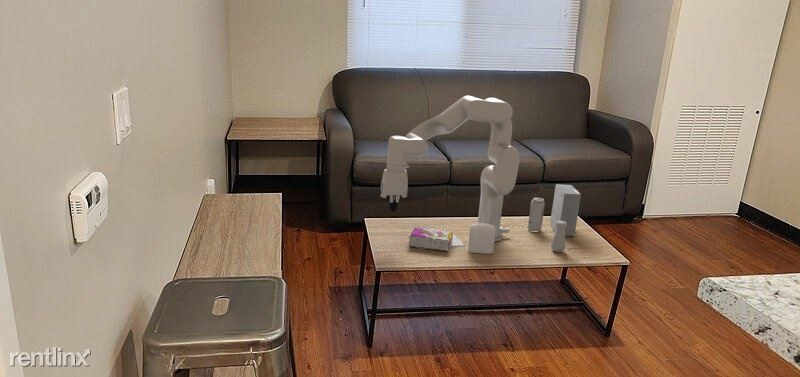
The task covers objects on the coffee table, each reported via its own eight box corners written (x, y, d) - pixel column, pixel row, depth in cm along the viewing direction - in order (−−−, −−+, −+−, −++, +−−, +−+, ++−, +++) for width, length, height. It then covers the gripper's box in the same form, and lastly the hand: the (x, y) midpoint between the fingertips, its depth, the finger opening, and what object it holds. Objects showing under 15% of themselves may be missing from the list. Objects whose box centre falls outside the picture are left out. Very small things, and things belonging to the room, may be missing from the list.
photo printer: (468, 253, 228) (471, 224, 224) (467, 249, 232) (470, 220, 228) (493, 255, 228) (497, 226, 224) (492, 250, 232) (495, 222, 228)
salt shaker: (547, 249, 237) (551, 219, 233) (558, 247, 239) (562, 218, 235) (556, 254, 232) (560, 224, 228) (567, 252, 234) (572, 223, 230)
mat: (451, 232, 249) (451, 231, 249) (464, 245, 235) (464, 245, 235) (408, 234, 243) (408, 234, 243) (418, 248, 229) (418, 248, 229)
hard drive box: (574, 237, 252) (581, 194, 246) (557, 236, 252) (564, 193, 246) (565, 225, 266) (571, 184, 261) (549, 224, 266) (555, 183, 260)
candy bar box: (414, 225, 239) (453, 231, 236) (413, 236, 241) (452, 242, 238) (409, 235, 229) (450, 240, 226) (408, 246, 230) (449, 252, 227)
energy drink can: (527, 227, 260) (531, 196, 256) (540, 228, 259) (545, 197, 255) (527, 231, 255) (531, 200, 250) (541, 233, 254) (545, 201, 249)
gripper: (411, 164, 230) (407, 207, 236) (375, 164, 226) (372, 208, 231) (416, 169, 223) (413, 213, 229) (380, 169, 219) (377, 214, 224)
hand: (392, 210), depth 230 cm, fingers closed
